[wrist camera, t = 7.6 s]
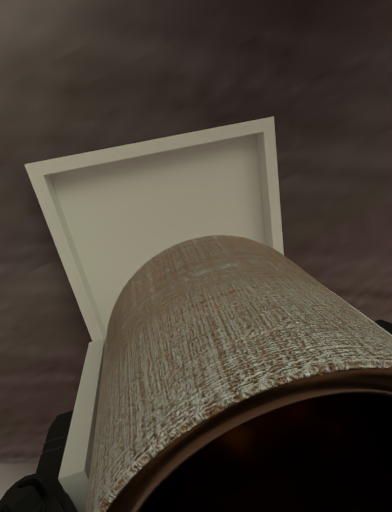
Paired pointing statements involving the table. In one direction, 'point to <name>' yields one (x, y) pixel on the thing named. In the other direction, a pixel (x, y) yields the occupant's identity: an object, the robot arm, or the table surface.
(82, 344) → the table surface
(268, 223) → the tray
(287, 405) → the planter
